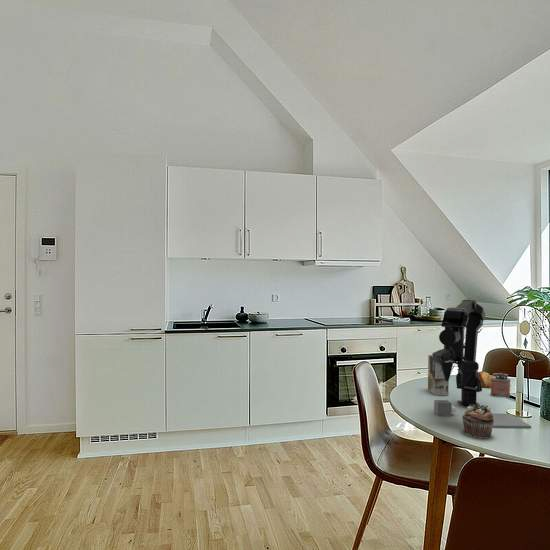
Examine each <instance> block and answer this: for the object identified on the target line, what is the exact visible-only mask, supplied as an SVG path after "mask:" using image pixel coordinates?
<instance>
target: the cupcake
mask: <svg viewBox="0 0 550 550" xmlns="http://www.w3.org/2000/svg"><path fill="white" fill-rule="evenodd" d="M491 413H492V412H491V407H490V406H488V405H484V404H483V405H481V404H480V403H479V402H476V404H471V405H469V406H466V409H465V411H464V414H463V415H462V416H461V418H462V422H463V430H464V433H465V434H466V433H467V434H469V435H472V436H471V437H473V436H476V437H475V438H477V437H483V438H482V439H488V438H490V437H491V435H492V432H493V428H494V427H493V424H494V421H493V415H492V414H491ZM467 434H466V435H467ZM469 435H468V436H469ZM484 437H486V438H484ZM487 437H488V438H487Z"/></svg>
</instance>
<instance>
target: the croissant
mask: <svg viewBox="0 0 550 550" xmlns="http://www.w3.org/2000/svg"><path fill="white" fill-rule="evenodd" d="M478 372H479V377H480V380H481V384H482V388H488V389H489V388H490V389H491V378H496V376H493V374H490V373H488V372H485V371H478ZM510 387H512V386H511V383H510Z"/></svg>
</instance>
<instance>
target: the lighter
mask: <svg viewBox="0 0 550 550" xmlns="http://www.w3.org/2000/svg"><path fill="white" fill-rule="evenodd" d="M492 375H493V376H496V378H491V388H490V396H491V397H495V398H496V397H498V398H510V397H511V394H510V393H511V386H510V384H511V379H510V378H508V377H509V376H508V375H509V374H507V373H502V372H498V373H495V372H494V373H492Z"/></svg>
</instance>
